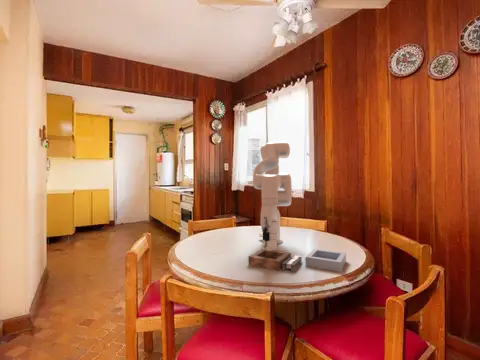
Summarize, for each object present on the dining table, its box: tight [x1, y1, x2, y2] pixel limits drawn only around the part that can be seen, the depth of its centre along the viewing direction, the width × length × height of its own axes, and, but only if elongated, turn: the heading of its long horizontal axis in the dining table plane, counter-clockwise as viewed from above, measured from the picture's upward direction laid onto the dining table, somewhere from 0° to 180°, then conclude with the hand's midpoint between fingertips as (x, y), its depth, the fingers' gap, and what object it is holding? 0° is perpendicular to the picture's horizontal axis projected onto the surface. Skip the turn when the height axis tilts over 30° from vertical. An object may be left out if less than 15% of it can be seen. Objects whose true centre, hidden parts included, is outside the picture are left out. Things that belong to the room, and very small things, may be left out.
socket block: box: [247, 248, 302, 273], centre depth 120 cm, size 21×15×4 cm
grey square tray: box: [305, 248, 347, 272], centre depth 120 cm, size 15×15×4 cm
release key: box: [287, 254, 303, 270], centre depth 118 cm, size 3×13×3 cm, turn 149°
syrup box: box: [262, 219, 278, 251], centre depth 122 cm, size 6×6×14 cm
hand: (270, 238), depth 122 cm, fingers closed on syrup box, 8 cm apart
